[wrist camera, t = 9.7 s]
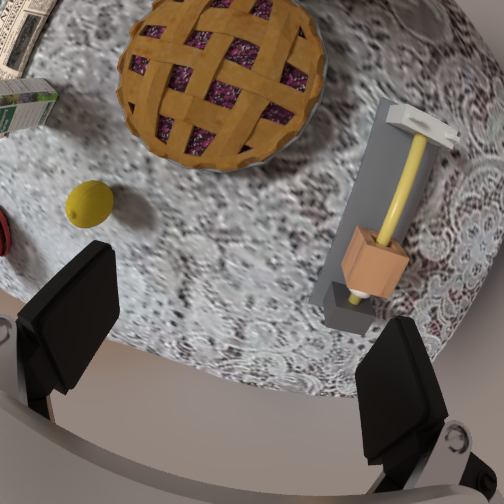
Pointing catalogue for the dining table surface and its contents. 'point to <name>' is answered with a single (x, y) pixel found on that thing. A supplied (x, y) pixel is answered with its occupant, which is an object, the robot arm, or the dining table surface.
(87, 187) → the lemon
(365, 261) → the sleeve
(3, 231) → the plant pot
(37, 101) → the syrup box
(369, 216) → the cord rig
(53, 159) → the dining table surface
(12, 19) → the newspaper
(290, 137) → the pie
